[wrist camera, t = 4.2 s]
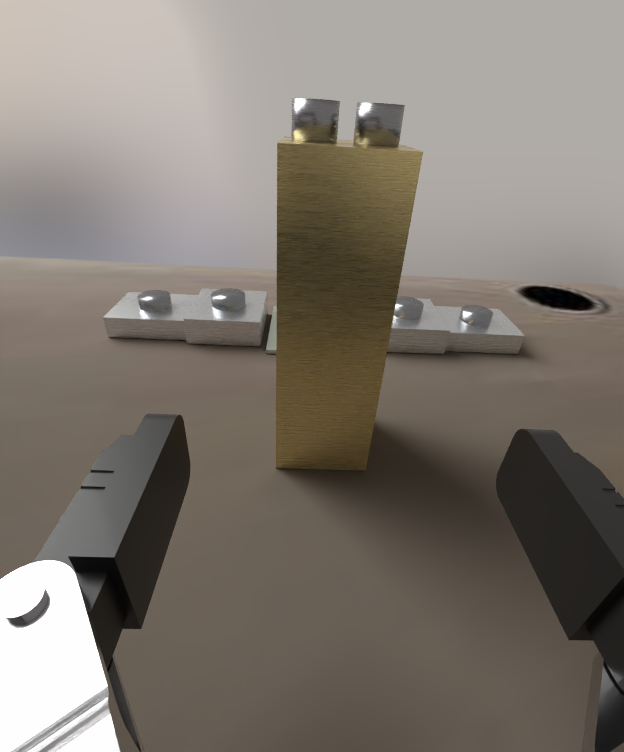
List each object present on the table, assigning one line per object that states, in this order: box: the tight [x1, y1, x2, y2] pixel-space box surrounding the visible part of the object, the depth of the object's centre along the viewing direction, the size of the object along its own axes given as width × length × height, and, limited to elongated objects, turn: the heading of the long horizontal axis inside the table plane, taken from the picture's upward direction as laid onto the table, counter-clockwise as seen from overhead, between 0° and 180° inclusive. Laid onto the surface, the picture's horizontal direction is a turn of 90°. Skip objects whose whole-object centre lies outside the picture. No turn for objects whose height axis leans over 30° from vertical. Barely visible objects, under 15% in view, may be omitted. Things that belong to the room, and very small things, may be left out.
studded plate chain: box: [103, 288, 525, 354], centre depth 32 cm, size 32×8×3 cm, turn 90°
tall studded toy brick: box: [276, 98, 423, 471], centre depth 18 cm, size 4×4×15 cm
